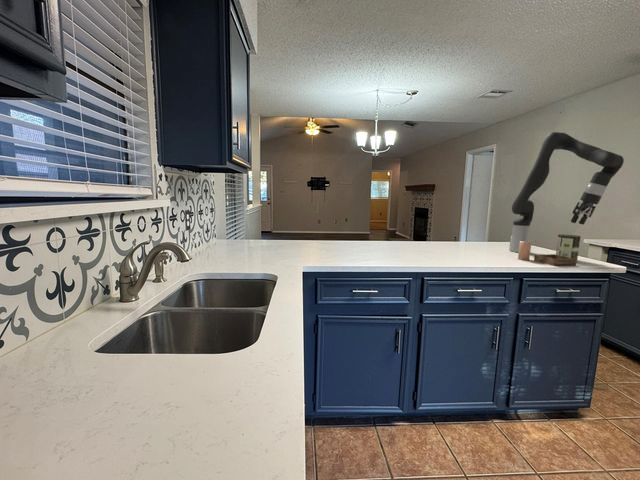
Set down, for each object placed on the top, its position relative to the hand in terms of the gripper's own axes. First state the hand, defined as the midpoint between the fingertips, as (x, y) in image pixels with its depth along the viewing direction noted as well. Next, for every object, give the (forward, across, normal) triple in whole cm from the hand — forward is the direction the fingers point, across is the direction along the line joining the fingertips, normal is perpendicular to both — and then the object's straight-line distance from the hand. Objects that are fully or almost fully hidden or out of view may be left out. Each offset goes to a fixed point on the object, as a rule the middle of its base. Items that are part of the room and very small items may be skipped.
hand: (576, 223), depth 165 cm
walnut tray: (+23, 0, 0) cm, 23 cm away
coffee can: (+22, -16, -3) cm, 28 cm away
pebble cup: (+28, +6, -12) cm, 31 cm away
